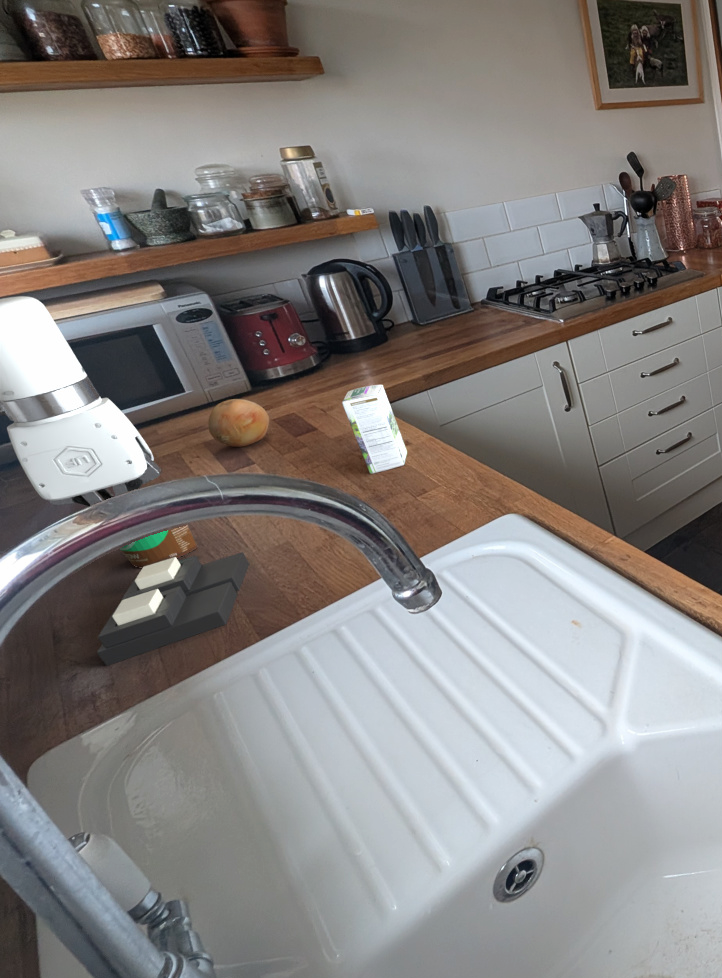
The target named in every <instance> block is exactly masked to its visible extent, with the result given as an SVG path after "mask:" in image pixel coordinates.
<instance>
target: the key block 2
mask: <svg viewBox="0 0 722 978" xmlns="http://www.w3.org/2000/svg"><path fill="white" fill-rule="evenodd" d="M160 593H161V594H162V596H163V598H164V600H163V602H162V604H161V606H160V607H159V609H158V611H157V613H155V614H152V615H149V616H146V617H143V618H140V619H137V620H134V621H131V622H128V623H125V624H122V625H119V626H118V625H117V623H116V622H115V620H114V619H113V617H112V616H113V614H114V613H115V611H116V609H117V608H118V606H119V605H117V606H116V607H115V609H114V611H113V612H112V614H111V615H110V617H109V619H108V620H107V622H106V623H105V625H104V627H102V630H101V631H100V633H99V634H98V636H97V638H98V640H99V641H100V643H101V645H100V646H99V649H98V650H97V651H96V654H97V655H98V656H99V658H100V659H101V661H102V662H103V664H104V665H105V666H106V667H108V666H110V665H114V664H117V663H120V662H122V661H125V660H128V659H131V658H134V657H137V656H140V655H142V654H145V653H148V652H150V651H151V652H152V651H154V650H156V649H157V650H158V649H160V648H163V647H165V646H168V645H171V644H174V643H177V642H180V641H183V640H186V639H189V638H191V637H194V636H197V635H200V634H202V633H206V632H208V631H213V630H214V629H217V628H220V627H223V626H225V625H227V624H228V621H229V619H230V616H231V613H232V610H233V608H234V605H235V603H236V600H237V598H238V595H239V594H238V591H236V590H235V589H234V587H233V585H232V583H231V582H228V583H225V584H222V585H219V586H216V587H213V588H210V589H207V590H204V591H201V592H198V593H195V594H192V595H189V596H186V595H185V593H184V592H183V590H182V588H181V587H180V586H179V587H176V588H173V589H170V590H166V591H163V592H160Z"/></svg>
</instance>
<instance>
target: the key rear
mask: <svg viewBox="0 0 722 978" xmlns="http://www.w3.org/2000/svg"><path fill="white" fill-rule="evenodd" d="M181 567H182V566H181V565H180V563H179V559H177V558H176V557H174V558H171V559H167V560H164V561H161V562H158V563H154V564H151V565H148V566H145V567H143V568H142V569H141V570H140V571H139V572H138V573H139V574H138V573H137V574H138V576H137V575H136V576H137V578H136V579H135V578H134V579H135V583H136V584H137V586H138V587H139V589H140V590H141V589H144V588H147V587H150V586H153V585H157V584H160V583H163V582H166V581H169V580H172V579H175V578H176V576H177V574H178V572H179V570H180V569H181Z"/></svg>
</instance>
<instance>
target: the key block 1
mask: <svg viewBox="0 0 722 978" xmlns="http://www.w3.org/2000/svg"><path fill="white" fill-rule="evenodd" d="M178 561H179V563H180V565H181V566H182V567H181V569H180V570H179V572H178V574H177V576H176V578H175V579H172V580H169V581H166V582H163V583H160V584H157V585H153V586H150V587H147V588H144V589H141V590H140V589H139V587H138V586H137V584H136V583H135V579H136V578H137V576H138V574H139V573H140V572H137V574H136V575H135V578H134V579H133V581H132V582H131V584H130V585H129V587H128V588H127V590H126V592H125V593H124V595H123V597H122V598H121V601H122V600H124V599H127V598H130V597H133V596H136V595H140V594H143V593H146V592H149V591H152V590H155V589H158V590H159V591H160V592H163V591H166V590H170V589H173V588H176V587H179V586H180V587H181V588H182V590H183V592H184V593H185V595H186V596H189V595H192V594H195V593H198V592H201V591H204V590H207V589H210V588H213V587H216V586H219V585H222V584H225V583H228V582H231V583H232V585H233V587H234V589H235V590H236V592H238V591H240V590H241V587H242V584H243V582H244V578H245V576H246V574H247V571H248V569H249V567H250V563H249V561H248V558H247V557H246V556H245V552H238V553H235V554H231V555H229V556H226V557H222V558H220V559H215V560H213V561H210V562H207V563H203V564H202V563H201V561H200V559H199V557H198V556H197V555H193V556H189V557H186V558H181V559H180V560H179V559H178Z"/></svg>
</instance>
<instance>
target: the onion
mask: <svg viewBox="0 0 722 978" xmlns="http://www.w3.org/2000/svg"><path fill="white" fill-rule="evenodd" d="M269 425H270V417H269V414H268V413H267V411H266V410H265V408H263V407H262V406H261V405H259V404H258V403H256V402H253V401H251V400H248V399H243V398H233V399H232V398H231V399H226V400H224V401H221V402H219V403H217V404H216V405H215V406H214V407H213V408H212V409H211V411H210V414H209V417H208V431H209V434H210V435H211V436H212V438H213V439H214V440H215V441H217V442H219V443H221V444H223V445H225V446H228V447H235V448H242V447H247V446H249V445H251V444H254V443H256V442H258V441H260V440H262V439H264V438H265V436H266V434H267V431H268V429H269Z"/></svg>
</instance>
